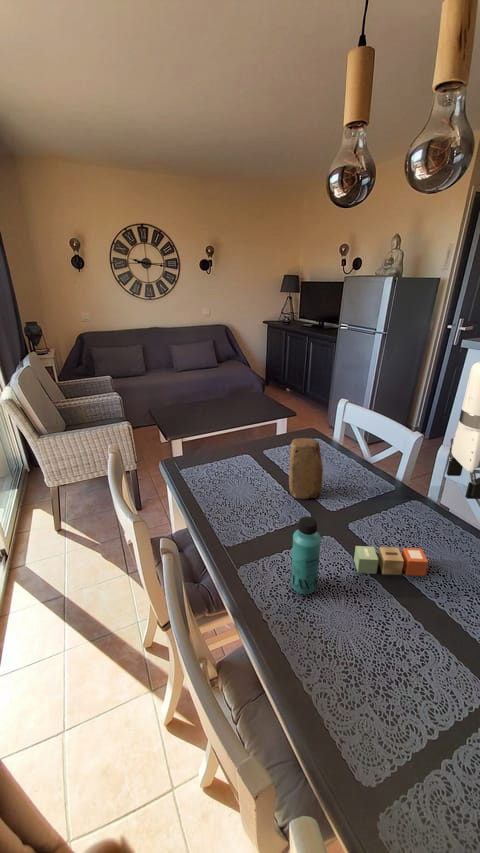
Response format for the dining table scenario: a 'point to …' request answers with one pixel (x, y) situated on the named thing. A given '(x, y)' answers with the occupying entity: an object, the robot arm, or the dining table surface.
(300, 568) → the beverage bottle
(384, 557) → the tan wooden toy cube
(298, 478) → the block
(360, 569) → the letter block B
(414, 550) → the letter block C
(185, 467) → the dining table surface
